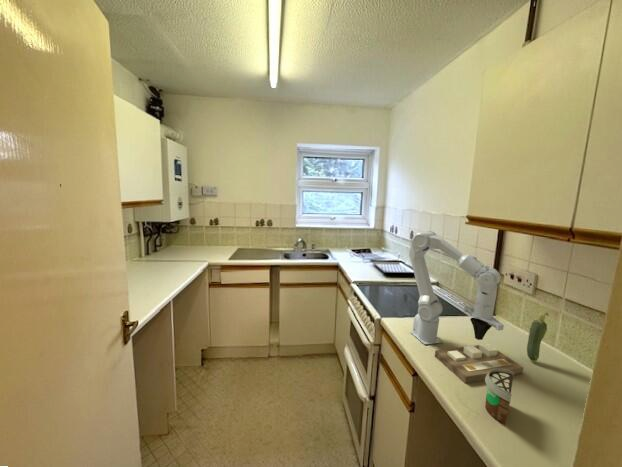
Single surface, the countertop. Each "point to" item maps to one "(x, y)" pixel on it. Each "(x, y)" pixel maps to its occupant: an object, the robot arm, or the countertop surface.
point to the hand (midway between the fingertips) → (478, 338)
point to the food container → (498, 393)
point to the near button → (456, 355)
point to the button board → (476, 365)
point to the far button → (488, 350)
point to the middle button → (472, 352)
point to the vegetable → (536, 337)
